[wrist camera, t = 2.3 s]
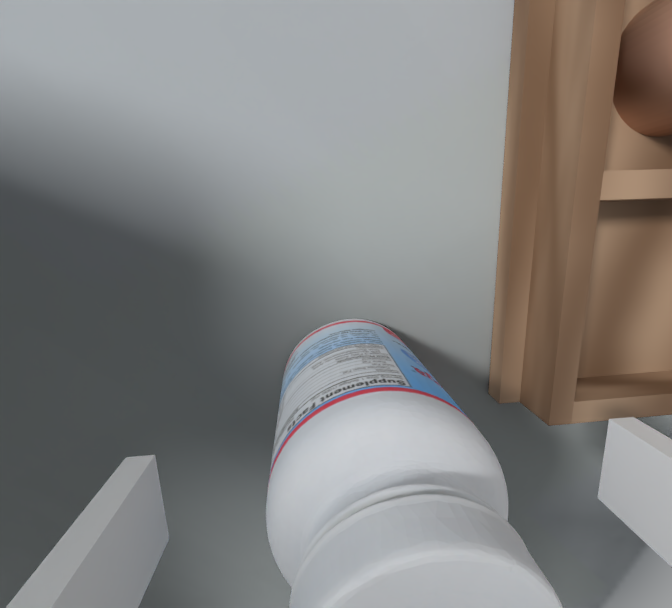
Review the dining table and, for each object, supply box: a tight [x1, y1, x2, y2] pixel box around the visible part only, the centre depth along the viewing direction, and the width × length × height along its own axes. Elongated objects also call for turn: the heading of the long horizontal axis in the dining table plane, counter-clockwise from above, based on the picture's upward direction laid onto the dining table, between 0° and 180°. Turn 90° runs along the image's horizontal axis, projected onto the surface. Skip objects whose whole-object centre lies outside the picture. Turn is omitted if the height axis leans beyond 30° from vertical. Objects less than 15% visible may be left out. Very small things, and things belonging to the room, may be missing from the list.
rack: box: [488, 0, 672, 426], centre depth 14 cm, size 12×19×3 cm, turn 2°
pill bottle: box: [266, 319, 563, 608], centre depth 11 cm, size 6×6×11 cm
